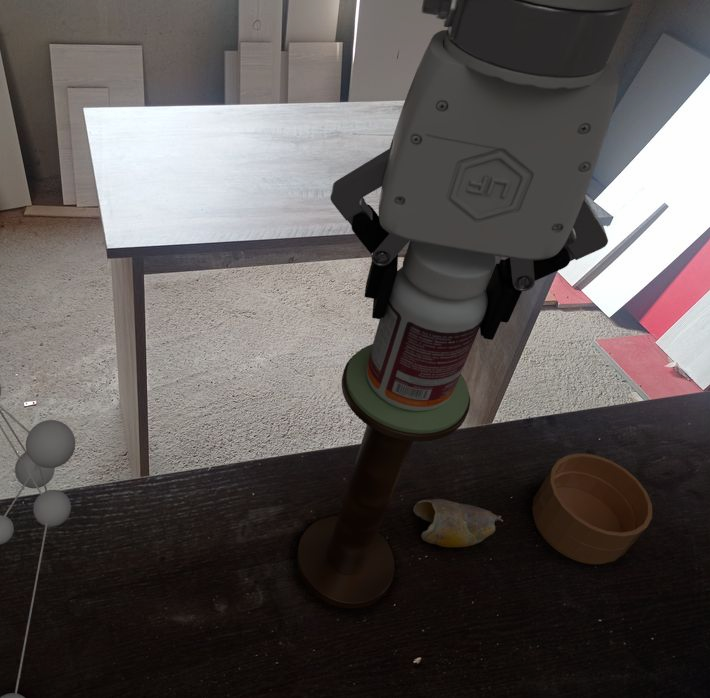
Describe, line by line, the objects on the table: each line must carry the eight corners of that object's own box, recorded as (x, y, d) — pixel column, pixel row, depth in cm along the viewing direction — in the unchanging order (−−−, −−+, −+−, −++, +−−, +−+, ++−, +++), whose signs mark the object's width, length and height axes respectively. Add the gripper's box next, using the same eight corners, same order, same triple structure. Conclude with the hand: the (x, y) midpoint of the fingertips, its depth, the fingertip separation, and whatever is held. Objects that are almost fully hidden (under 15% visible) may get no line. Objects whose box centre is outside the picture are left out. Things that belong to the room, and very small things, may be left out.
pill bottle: (470, 392, 50) (528, 261, 42) (408, 428, 47) (458, 295, 39) (407, 340, 54) (450, 211, 46) (346, 371, 51) (381, 237, 43)
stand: (410, 561, 68) (492, 386, 51) (357, 629, 62) (430, 458, 46) (332, 505, 72) (386, 326, 55) (276, 564, 66) (317, 386, 50)
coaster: (488, 386, 51) (490, 382, 51) (429, 455, 46) (430, 451, 46) (387, 328, 55) (388, 324, 55) (321, 386, 50) (322, 382, 50)
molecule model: (107, 485, 73) (151, 380, 61) (16, 754, 56) (50, 684, 43) (-30, 440, 71) (-14, 322, 59) (-169, 704, 54) (-189, 615, 41)
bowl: (638, 523, 73) (665, 491, 69) (606, 585, 68) (633, 554, 64) (552, 470, 77) (572, 438, 73) (515, 525, 72) (535, 493, 68)
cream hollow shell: (467, 503, 73) (498, 495, 70) (474, 549, 72) (507, 543, 68) (402, 502, 70) (432, 494, 66) (409, 550, 69) (439, 544, 65)
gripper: (343, 24, 32) (290, 328, 44) (748, 86, 30) (577, 381, 43) (354, -25, 37) (305, 258, 49) (699, 26, 36) (559, 303, 48)
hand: (432, 313), depth 46 cm, fingers closed on pill bottle, 6 cm apart
